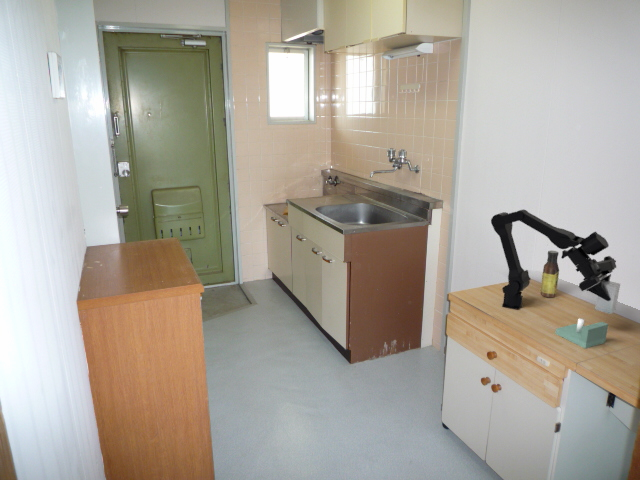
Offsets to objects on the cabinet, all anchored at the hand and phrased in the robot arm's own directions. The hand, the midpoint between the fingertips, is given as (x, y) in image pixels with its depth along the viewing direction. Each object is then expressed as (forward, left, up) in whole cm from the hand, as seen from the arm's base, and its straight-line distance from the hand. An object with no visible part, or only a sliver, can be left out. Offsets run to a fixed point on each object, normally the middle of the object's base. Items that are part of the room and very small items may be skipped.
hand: (611, 298), depth 166 cm
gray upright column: (-1, 0, -5) cm, 5 cm away
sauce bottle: (-21, +29, -14) cm, 39 cm away
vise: (-8, -9, -14) cm, 18 cm away
